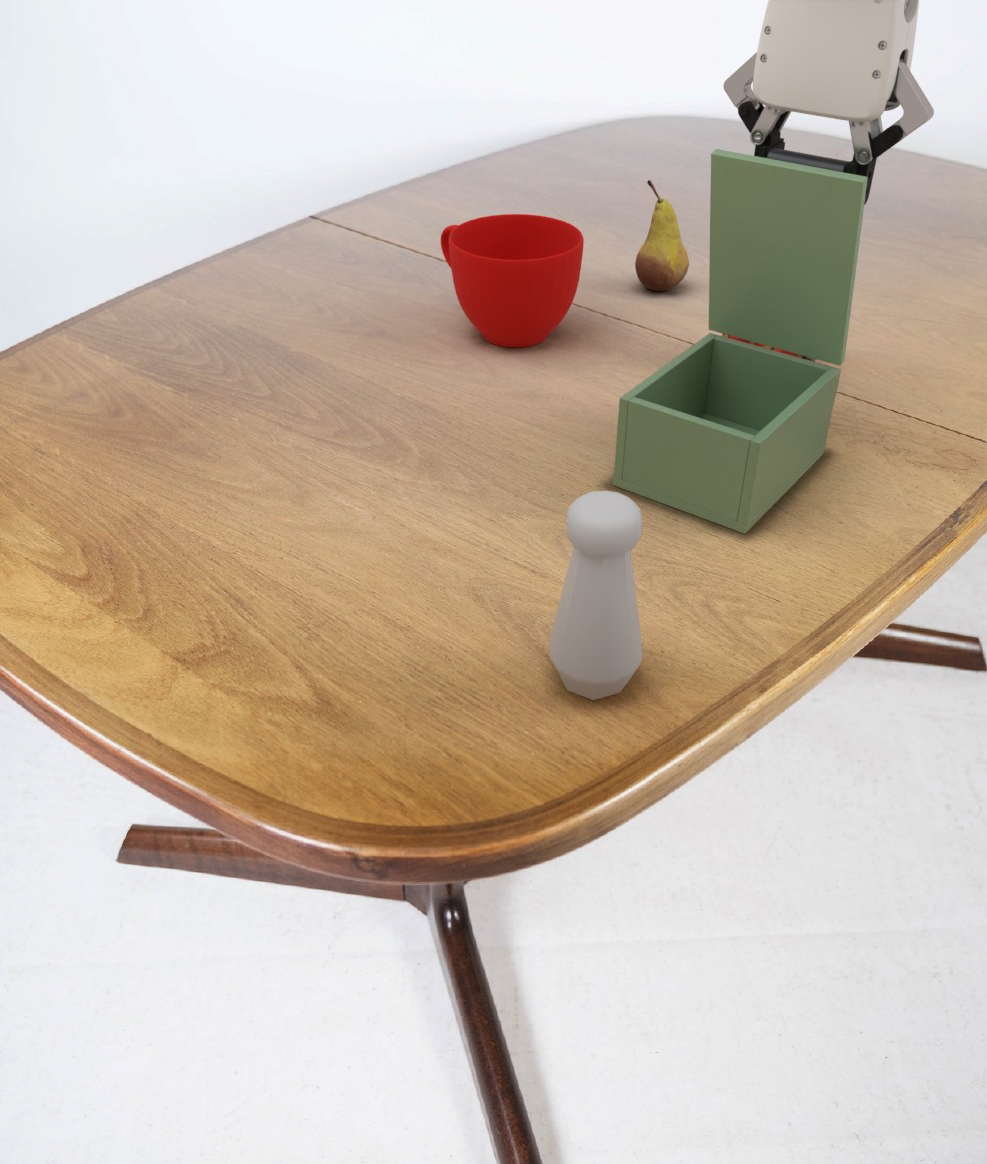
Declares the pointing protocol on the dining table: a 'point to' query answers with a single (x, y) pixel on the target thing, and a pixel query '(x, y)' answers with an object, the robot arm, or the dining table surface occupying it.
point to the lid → (784, 250)
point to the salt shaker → (599, 598)
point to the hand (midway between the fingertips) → (805, 202)
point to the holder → (724, 429)
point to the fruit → (662, 250)
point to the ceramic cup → (514, 274)
